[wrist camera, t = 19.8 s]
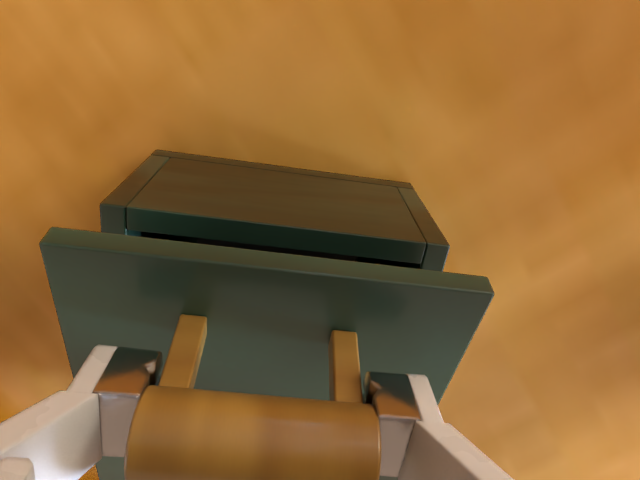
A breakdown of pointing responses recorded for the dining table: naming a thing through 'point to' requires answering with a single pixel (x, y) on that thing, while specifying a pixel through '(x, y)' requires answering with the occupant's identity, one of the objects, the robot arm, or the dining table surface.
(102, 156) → the dining table surface
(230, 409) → the case lid
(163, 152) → the case
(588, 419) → the dining table surface
